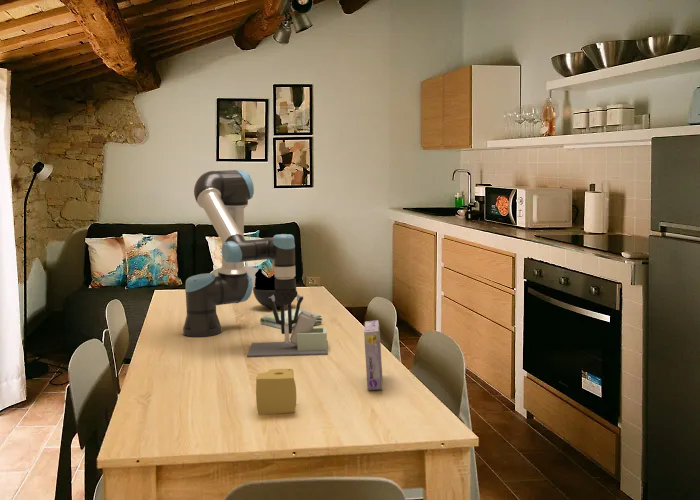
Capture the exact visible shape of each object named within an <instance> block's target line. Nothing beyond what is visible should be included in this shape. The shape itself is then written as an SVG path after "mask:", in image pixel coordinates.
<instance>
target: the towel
mask: <svg viewBox="0 0 700 500" xmlns="http://www.w3.org/2000/svg"><path fill="white" fill-rule="evenodd" d="M295 311H296V307H295V308H292V320H294V316H295ZM301 311H307V312H310V311H308V310H305V309H302V308H299V313H298V316H299V314H300V313H301ZM284 312H285V324H288V309H287V310H284ZM277 313H278V316H279V320H281V311H277ZM310 313H312V314H314V315H316V317H315V318H316V321H315V324H314V326H319V325H322V322H323V318H322V315H321V314H318V313H313V312H312V311H311V312H310ZM259 322H260V324H261V325H265V326H267V327H268V326H269V327H272V328H277V329H279V330H281V325H280V324H277V323H276V321H275V317H274V314H273V313H271V314H267V315H264V316H263V315H262V316H261V317H260V319H259ZM295 324H296V323H294V324H292V331H293V329H294V327H295Z"/></svg>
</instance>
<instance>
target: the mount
mask: <svg viewBox="0 0 700 500" xmlns="http://www.w3.org/2000/svg"><path fill="white" fill-rule="evenodd" d="M327 329H328V328H327V326H324V327H323V326H322V327H313V329H312V332H311V333H297V345H294V344H293V343H291V341H289V343H288V344H285V341H270V342H269V341H265V342H264V341H263V342H252V343H251V344H250V347H249V350H248V352H247V355H246V357H247V358H263V357H264V358H266V357H267V358H270V357H295V356H296V357H299V356H301V357H302V356H303V357H304V356H327V355H328V352H329V351H328V349H329V348H328V345H329V343H328V337H327V336H328V335H327V334H328V333H327Z"/></svg>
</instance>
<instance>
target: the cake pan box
mask: <svg viewBox="0 0 700 500" xmlns="http://www.w3.org/2000/svg"><path fill="white" fill-rule="evenodd" d="M363 331H364V337H363V338H364V351H365V352H364V353H365V370H366V373H365V374H366V386H367V390H368V391H383V368H382V367H383V366H382V364H383V362H382V345H381V332H380V321H379V319H378V320H369V321H365V322H364V329H363Z"/></svg>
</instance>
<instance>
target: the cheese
mask: <svg viewBox="0 0 700 500" xmlns="http://www.w3.org/2000/svg"><path fill="white" fill-rule="evenodd" d="M294 377H295V375H294V369H293V368H272V369H269V370H267V371H266V372H259V373H257V375H256V379H255V381H256V382H255V398H256V401H255V402H256V409H257V415H259V416H261V415H275V414H276V415H277V414H278V415H279V414H293V413H295V412H296V408H297V407H296V406H297V385H296V381H295V378H294Z"/></svg>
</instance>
